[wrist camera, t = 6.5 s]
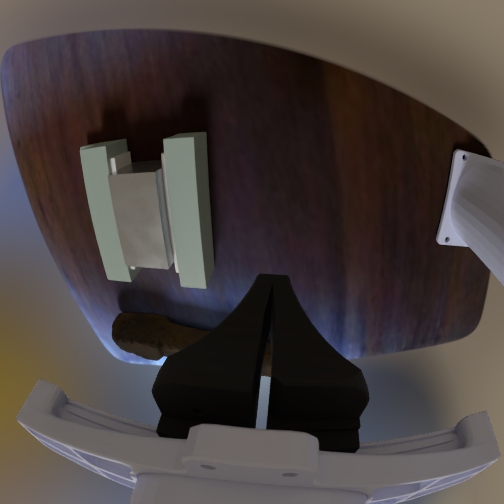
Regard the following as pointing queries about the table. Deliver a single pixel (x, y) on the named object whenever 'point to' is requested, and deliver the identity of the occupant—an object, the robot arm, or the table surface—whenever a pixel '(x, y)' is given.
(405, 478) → the robot arm
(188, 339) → the brown wooden log
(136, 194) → the block
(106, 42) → the table surface
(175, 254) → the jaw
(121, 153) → the pale green bar
